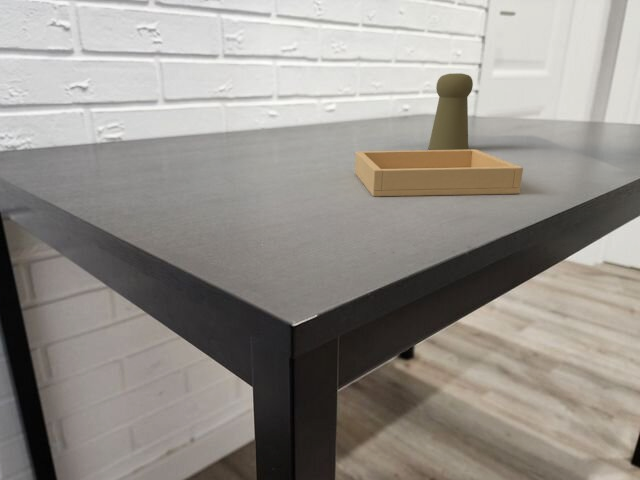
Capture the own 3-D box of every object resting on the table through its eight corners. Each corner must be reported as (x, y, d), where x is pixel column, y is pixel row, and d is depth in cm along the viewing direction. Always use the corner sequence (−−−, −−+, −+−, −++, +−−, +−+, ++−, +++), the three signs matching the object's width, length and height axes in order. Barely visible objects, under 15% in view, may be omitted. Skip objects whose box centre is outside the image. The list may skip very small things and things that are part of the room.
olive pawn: (471, 151, 77) (481, 73, 73) (430, 151, 78) (437, 74, 74) (464, 146, 83) (473, 73, 79) (426, 146, 83) (432, 73, 80)
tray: (473, 170, 63) (476, 149, 62) (519, 193, 51) (523, 167, 50) (354, 173, 63) (355, 151, 62) (373, 196, 51) (374, 170, 50)
